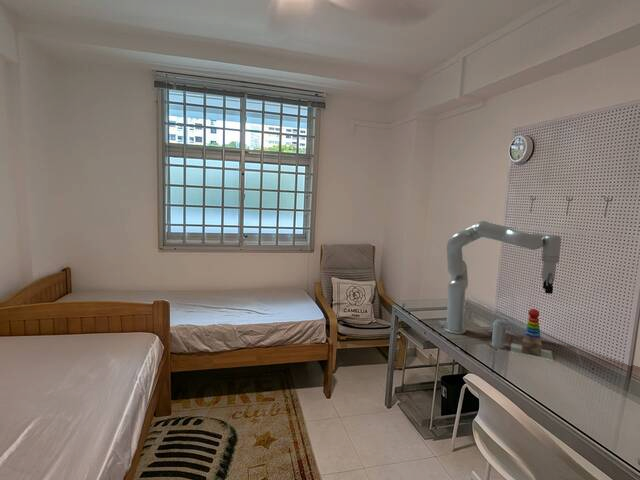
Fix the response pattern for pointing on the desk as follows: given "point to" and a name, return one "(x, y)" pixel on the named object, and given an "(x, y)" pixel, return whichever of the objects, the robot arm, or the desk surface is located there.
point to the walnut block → (531, 346)
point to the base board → (544, 355)
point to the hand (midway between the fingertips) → (547, 291)
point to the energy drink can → (498, 333)
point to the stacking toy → (533, 325)
